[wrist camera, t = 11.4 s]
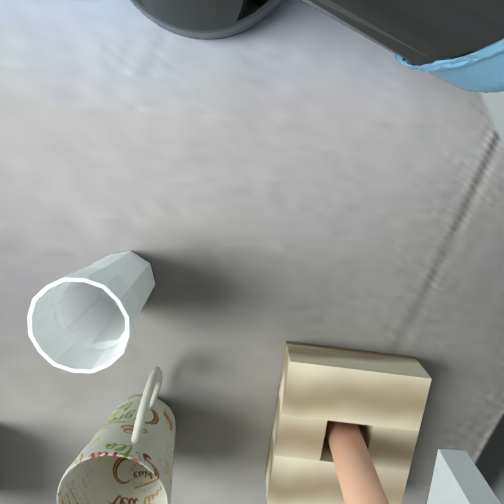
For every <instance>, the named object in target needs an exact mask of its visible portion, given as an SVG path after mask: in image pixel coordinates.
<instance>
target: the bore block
mask: <svg viewBox="0 0 504 504" xmlns="http://www.w3.org/2000/svg"><path fill="white" fill-rule="evenodd" d="M431 380H432V378H431V377H430V376H429V375H428V373H427V372H426V371H425V370H424V368H423V367H422V366H421V365H420V363H419V362H418V361H417V360H416V358H415V357H409V356H401V355H393V354H385V353H377V352H369V351H361V350H352V349H344V348H336V347H328V346H320V345H312V344H304V343H296V342H288V341H286V347H285V354H284V360H283V366H282V372H281V378H280V385H279V391H278V397H277V403H276V410H275V416H274V422H273V428H272V435H271V441H270V447H269V453H268V459H267V466H266V472H265V473H266V497H267V504H345V502H344V498H343V494H342V491H341V487H340V483H339V479H338V476H337V472H336V468H335V464H334V461H333V457H332V453H331V450H330V446H329V442H328V438H327V435H326V426H327V420H329V421H337V422H346V423H354V424H358V426H359V429H360V431H361V434H362V436H363V439H364V441H365V444H366V446H367V449H368V451H369V454H370V457H371V459H372V462H373V464H374V467H375V469H376V472H377V474H378V477H379V479H380V482H381V485H382V487H383V490H384V492H385V495H386V497H387V500H388V502H389V504H401V503H402V499H403V495H404V491H405V487H406V483H407V479H408V475H409V471H410V466H411V462H412V458H413V454H414V450H415V446H416V442H417V438H418V433H419V429H420V425H421V421H422V417H423V413H424V409H425V405H426V401H427V396H428V392H429V388H430V384H431Z"/></svg>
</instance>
